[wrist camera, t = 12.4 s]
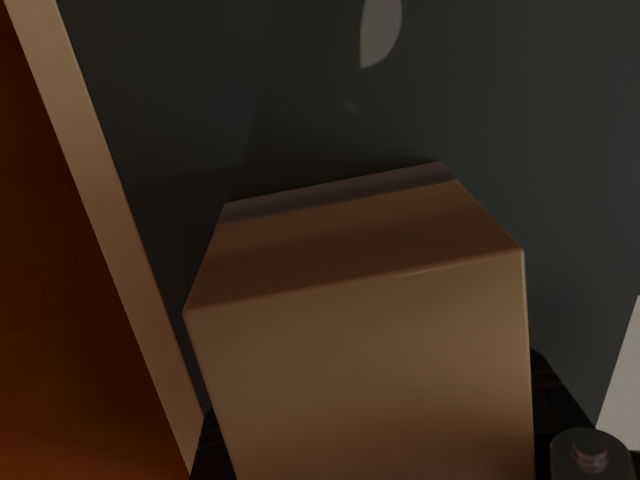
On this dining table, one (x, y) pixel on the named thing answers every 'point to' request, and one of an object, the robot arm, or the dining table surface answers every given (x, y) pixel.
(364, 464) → the eraser
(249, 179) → the slate board
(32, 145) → the dining table surface
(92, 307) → the dining table surface
